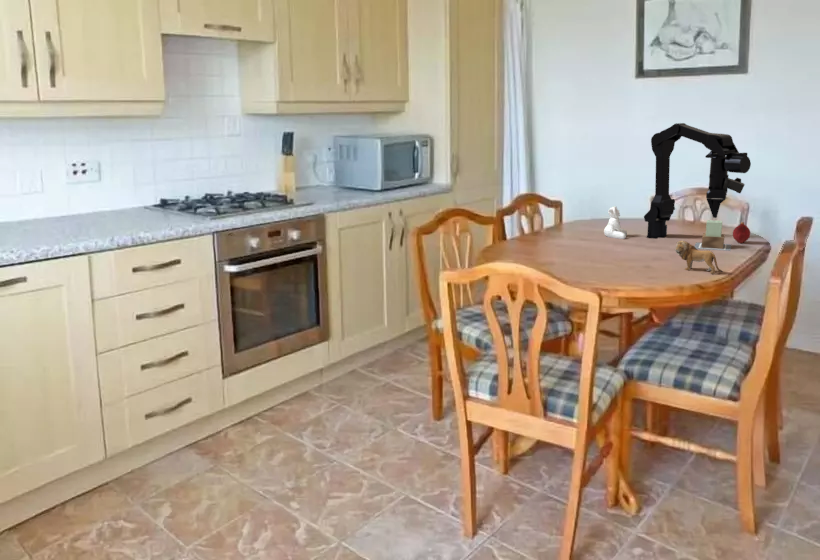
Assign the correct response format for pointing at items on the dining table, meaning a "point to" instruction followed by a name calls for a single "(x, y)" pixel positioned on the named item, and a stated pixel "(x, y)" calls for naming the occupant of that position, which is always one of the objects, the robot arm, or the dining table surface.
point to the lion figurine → (695, 256)
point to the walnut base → (712, 241)
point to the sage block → (713, 228)
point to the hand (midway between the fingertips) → (715, 215)
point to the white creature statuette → (614, 225)
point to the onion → (741, 233)
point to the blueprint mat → (726, 248)
